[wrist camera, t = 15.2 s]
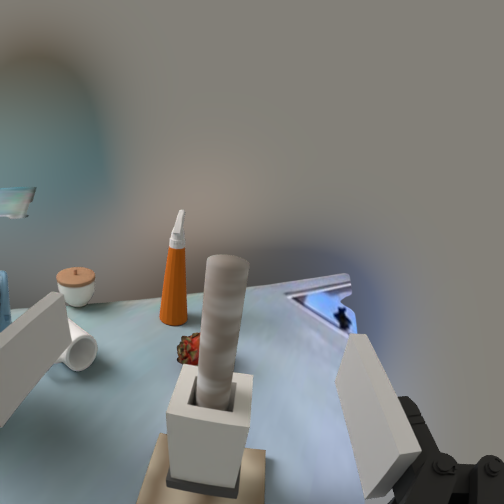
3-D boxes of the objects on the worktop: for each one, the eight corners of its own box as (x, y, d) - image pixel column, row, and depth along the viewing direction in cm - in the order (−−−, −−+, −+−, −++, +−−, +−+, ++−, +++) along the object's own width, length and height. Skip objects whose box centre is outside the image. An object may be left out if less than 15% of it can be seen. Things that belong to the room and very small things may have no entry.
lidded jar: (104, 302, 76) (102, 269, 73) (73, 316, 67) (69, 281, 64) (81, 288, 80) (79, 258, 77) (52, 300, 70) (48, 268, 68)
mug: (73, 339, 58) (68, 308, 56) (100, 361, 55) (95, 328, 52) (30, 360, 48) (21, 328, 46) (54, 387, 44) (45, 353, 42)
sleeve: (170, 477, 26) (166, 412, 23) (182, 433, 33) (183, 363, 29) (234, 488, 27) (249, 427, 23) (238, 443, 33) (253, 375, 29)
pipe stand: (133, 523, 25) (65, 289, 14) (160, 439, 40) (157, 221, 30) (260, 545, 25) (369, 339, 14) (263, 456, 40) (320, 245, 30)
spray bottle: (189, 306, 82) (198, 209, 74) (186, 327, 72) (194, 219, 64) (164, 303, 82) (169, 206, 73) (157, 324, 71) (160, 216, 63)
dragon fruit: (174, 383, 56) (211, 364, 66) (206, 380, 51) (241, 359, 62) (160, 343, 57) (198, 328, 67) (189, 336, 52) (228, 320, 63)
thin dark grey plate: (166, 486, 27) (165, 479, 26) (179, 438, 34) (179, 430, 34) (236, 499, 27) (238, 492, 26) (241, 449, 34) (243, 440, 34)
